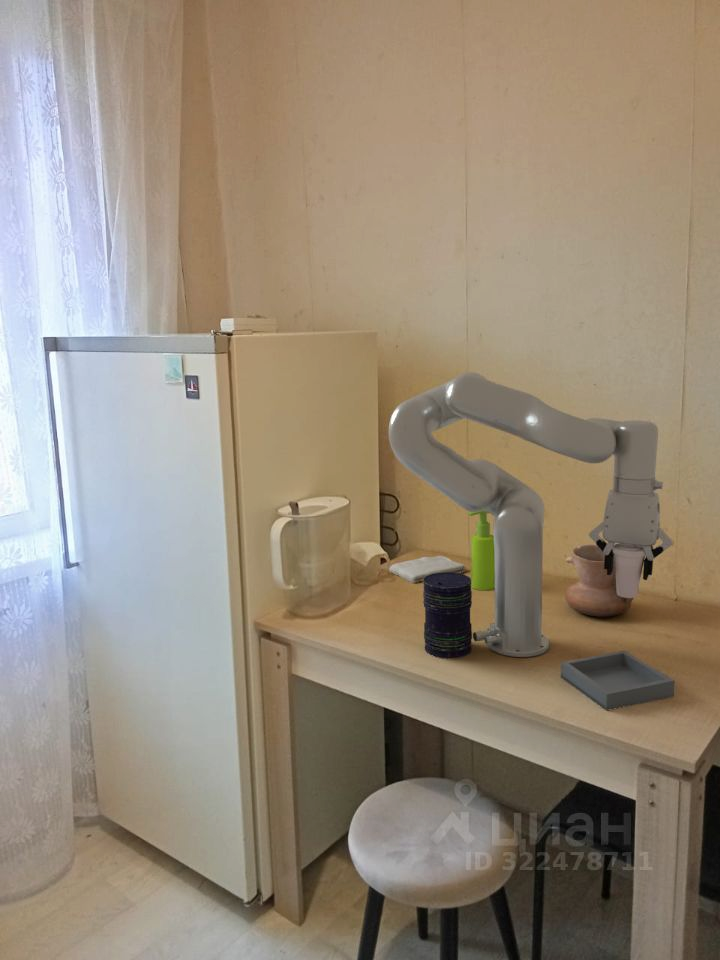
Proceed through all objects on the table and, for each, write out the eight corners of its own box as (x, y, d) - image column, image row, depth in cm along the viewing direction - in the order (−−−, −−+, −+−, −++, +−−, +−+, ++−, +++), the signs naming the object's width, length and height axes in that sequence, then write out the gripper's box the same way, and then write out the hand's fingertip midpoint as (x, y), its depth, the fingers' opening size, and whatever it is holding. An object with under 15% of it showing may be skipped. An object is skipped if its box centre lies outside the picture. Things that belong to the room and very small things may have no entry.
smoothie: (648, 600, 150) (654, 530, 147) (615, 600, 150) (620, 530, 147) (637, 589, 156) (642, 521, 153) (605, 589, 156) (610, 521, 154)
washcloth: (468, 573, 210) (468, 562, 210) (412, 586, 201) (412, 574, 201) (442, 562, 220) (442, 552, 220) (388, 574, 212) (388, 563, 211)
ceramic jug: (547, 609, 181) (549, 550, 178) (583, 593, 190) (585, 537, 187) (617, 631, 168) (620, 568, 164) (652, 613, 177) (655, 553, 174)
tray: (606, 710, 133) (606, 694, 133) (560, 677, 146) (561, 662, 146) (673, 696, 137) (674, 680, 137) (623, 664, 150) (624, 650, 150)
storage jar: (441, 635, 167) (440, 569, 165) (481, 646, 161) (481, 577, 158) (414, 651, 160) (413, 582, 157) (455, 663, 154) (454, 591, 151)
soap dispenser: (464, 585, 199) (463, 509, 196) (488, 581, 201) (488, 506, 198) (474, 592, 194) (473, 514, 190) (499, 588, 196) (499, 511, 192)
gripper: (683, 486, 148) (676, 576, 152) (590, 478, 156) (586, 564, 159) (680, 493, 142) (673, 587, 145) (583, 485, 149) (578, 575, 153)
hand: (627, 574), depth 152 cm, fingers closed on smoothie, 6 cm apart
